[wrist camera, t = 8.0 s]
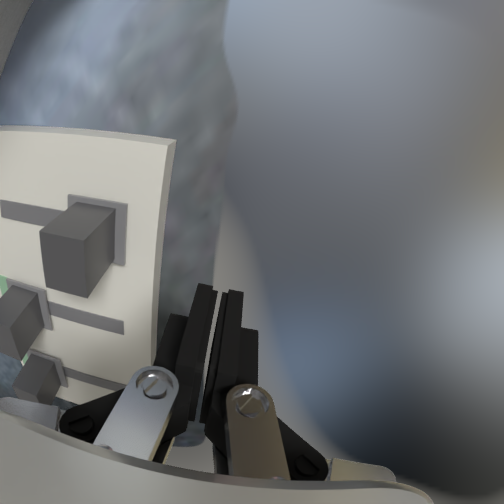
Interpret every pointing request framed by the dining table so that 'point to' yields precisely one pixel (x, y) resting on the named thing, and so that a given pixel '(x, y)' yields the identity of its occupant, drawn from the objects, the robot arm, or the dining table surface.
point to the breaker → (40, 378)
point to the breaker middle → (22, 317)
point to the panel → (116, 276)
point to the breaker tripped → (83, 244)
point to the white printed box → (10, 25)
